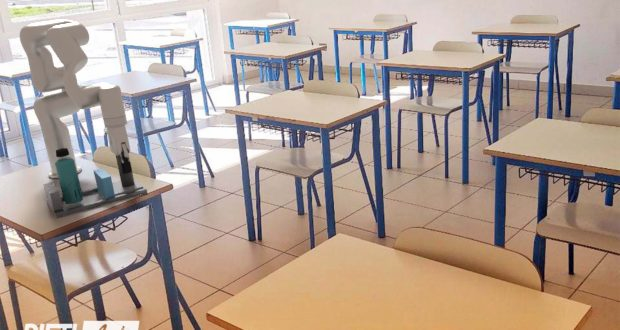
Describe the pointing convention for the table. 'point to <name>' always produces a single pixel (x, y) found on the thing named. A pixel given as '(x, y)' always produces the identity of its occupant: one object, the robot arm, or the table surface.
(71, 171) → the beverage bottle
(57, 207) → the clamp frame
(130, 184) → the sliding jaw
